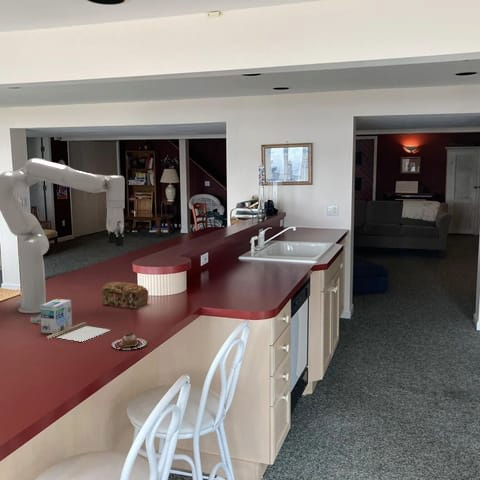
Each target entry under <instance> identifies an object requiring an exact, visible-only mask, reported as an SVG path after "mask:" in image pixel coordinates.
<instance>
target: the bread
mask: <svg viewBox="0 0 480 480" xmlns="http://www.w3.org/2000/svg"><path fill="white" fill-rule="evenodd" d="M100 294H101V301H102V304H104V305H105V306H107V305H109V306H112V307H118V308H119V307H120V308H131V309H138V308H139V309H140V308H141V307H143V306H146V305H148V301H149V290H148V289H147V288H146V287H144V286H143V285H138V284H136V283H132V282H125V281H123V282H121V281H120V282H119V281H109V282H107V283H105V284H104V285H103V286H102V289H101V293H100Z"/></svg>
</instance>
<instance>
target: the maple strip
mask: <svg viewBox="0 0 480 480" xmlns="http://www.w3.org/2000/svg"><path fill="white" fill-rule="evenodd" d="M82 326H83V327H85V326H87V322H85V321H84V322H81V323H79V324H76V325H73V326H72V327H70V328H68V329H65V330H62V331H60V332H57V333H54V334H49V335H47V336H46V339H47V338H48V339H47V340H50V339H49V338H51V339H53V338H52V337H54V338H56V337H55V336H57V337H59V336H61V335H60V334H62V335H64V334H66V333H65V332H67V333H69V332H68V331H70V332H72V331H74V330H73V329H75V330H77V329H80V328H82ZM79 327H80V328H79ZM76 328H77V329H76ZM71 330H72V331H71ZM63 333H64V334H63ZM58 335H59V336H58Z"/></svg>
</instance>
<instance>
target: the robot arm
mask: <svg viewBox="0 0 480 480" xmlns="http://www.w3.org/2000/svg"><path fill="white" fill-rule="evenodd" d="M40 181H43V182H48V183H51V184H56V185H60V186H63V187H69V188H72V189H75V190H79V191H83V192H88V193H92V194H97V193H103V192H104V193H106V210H107V211H106V224H105V225H106V230H107V231H108V236H107V237H108V244H115V247H123V246H124V233H125V232H124V228H125V219H124V209H125V198H126V196H125V193H126V192H125V186H126V185H125V183H126V182H125V177H124V176H123V175H115V174H114V175H112V174H111V175H105V174H104V175H103V174H96V173H95V174H93V173H88V172H84V171H80V170H76V169H74V168H72V167H70V166H68V165H66V164H62V163H59V162H58V163H57V162H53V161H49V160H46V159H44V158H37V157H34V158H30V159H28V160H27V161H25V164H24V166H22V167H20V168H19V169H17V170H11V171H10V170H9V171H4V172H2V173H1V174H0V213H1V215H2V217H3V219H4V221H5V223H6V225H7V227H8V229H9V232H11V234H12V235H14V236H17V237H21V238H22V241H21V242H20V244H19V245H18V250H17V251H18V259H19V266H20V279H21V280H20V282H21V297H20V298H19V300H16V304H19V305H20V306H19V307H18V312H20V313H24V314H36V313H37V314H39V313H41V306H40V305H42V304H45V303H47V297H46V296H47V295H46V277H45V276H46V273H45V270H46V269H45V261H44V256H43V255H45V254H46V253H48V250H49V249H50V242H49V238H48V237H47V236H46V234H45V231H44V230H43V228H42V226H41V224H40V221H39V220H38V219H37V218H36V216H35V215H34V214H32V212H31V213H30V212H27V211H25V210H24V208H23V206H22V204H21V202H20V200H19V199H18V197H17V196H16V193H15V192H20V191H24V190H26V189H27V188H29V187H31V186H33V185H34V184H37V183H39V182H40Z"/></svg>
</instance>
